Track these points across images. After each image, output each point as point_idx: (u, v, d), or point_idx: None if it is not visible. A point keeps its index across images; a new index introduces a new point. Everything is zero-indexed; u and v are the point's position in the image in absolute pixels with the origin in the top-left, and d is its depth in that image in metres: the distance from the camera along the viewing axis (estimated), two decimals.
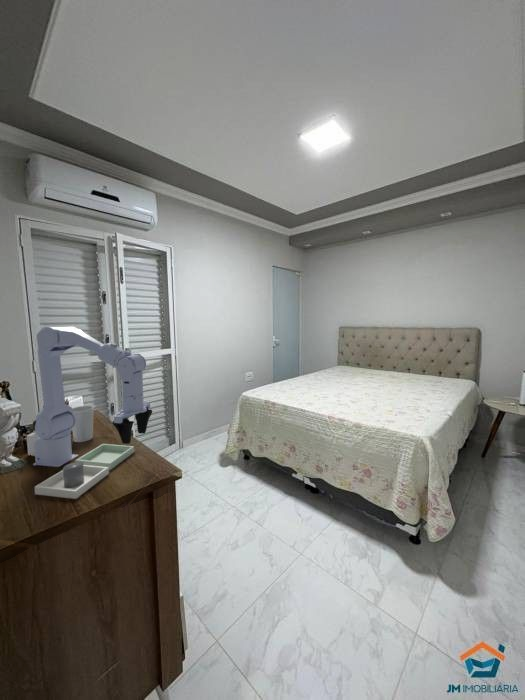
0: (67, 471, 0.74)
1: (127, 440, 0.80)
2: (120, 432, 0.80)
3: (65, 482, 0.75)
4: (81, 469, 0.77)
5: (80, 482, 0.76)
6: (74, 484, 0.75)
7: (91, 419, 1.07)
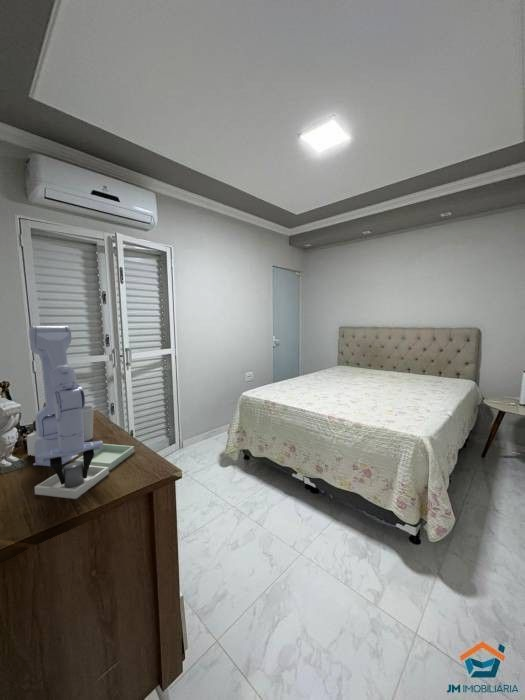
0: (67, 471, 0.74)
1: (60, 481, 0.74)
2: None
3: (65, 482, 0.75)
4: (81, 469, 0.77)
5: (80, 482, 0.76)
6: (74, 484, 0.75)
7: (91, 419, 1.07)
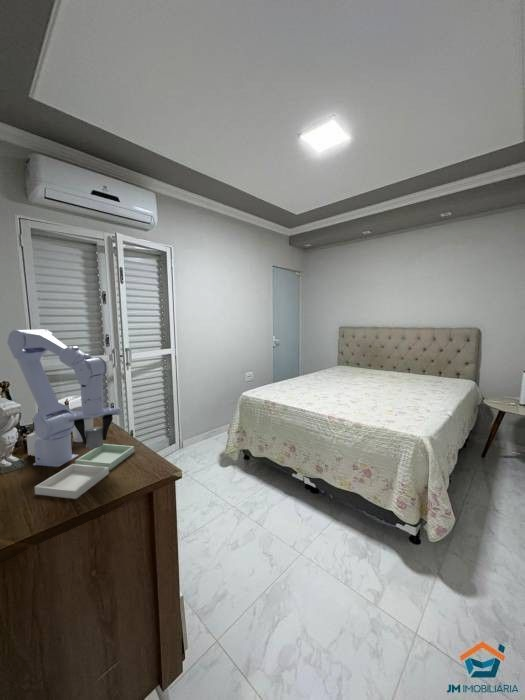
0: (88, 433, 0.82)
1: None
2: None
3: (87, 443, 0.83)
4: (101, 433, 0.84)
5: (99, 444, 0.84)
6: (94, 445, 0.83)
7: (91, 419, 1.07)
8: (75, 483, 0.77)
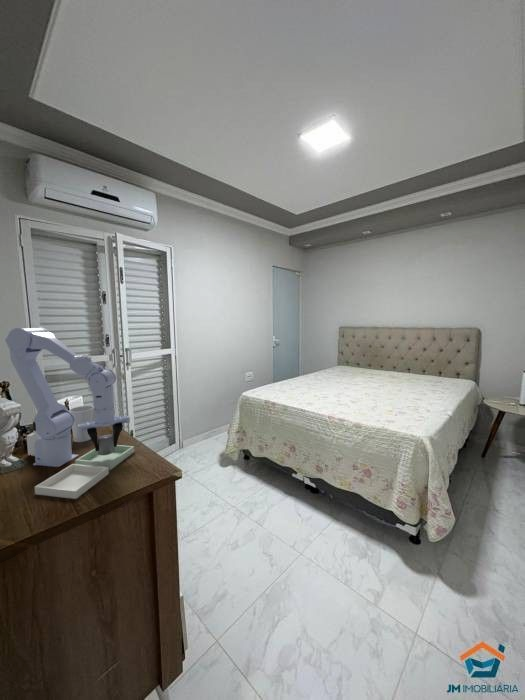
0: (100, 441, 0.88)
1: (95, 448, 0.88)
2: None
3: (99, 450, 0.88)
4: (112, 440, 0.90)
5: (111, 451, 0.89)
6: (106, 452, 0.88)
7: (91, 419, 1.07)
8: (75, 483, 0.77)
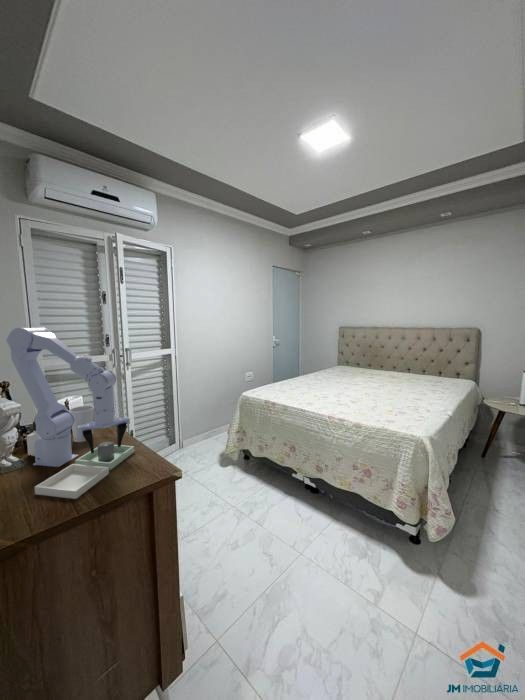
0: (100, 448, 0.88)
1: None
2: None
3: (99, 457, 0.89)
4: (112, 448, 0.90)
5: (111, 459, 0.90)
6: (106, 460, 0.88)
7: (91, 419, 1.07)
8: (75, 483, 0.77)
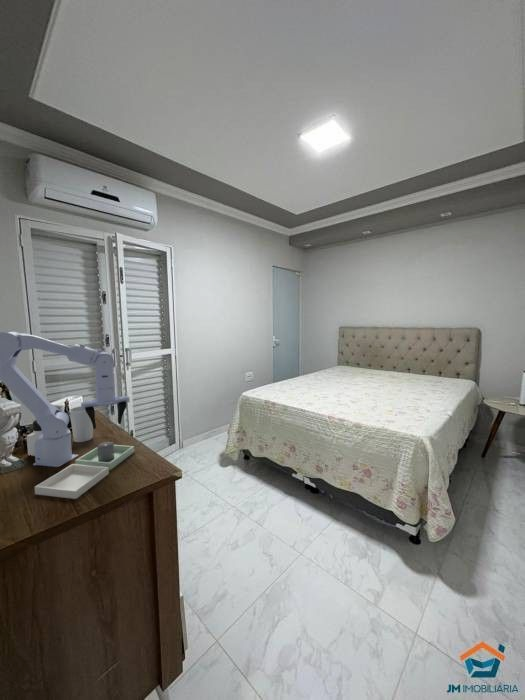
0: (100, 448, 0.88)
1: None
2: None
3: (99, 457, 0.89)
4: (111, 447, 0.90)
5: (111, 458, 0.90)
6: (106, 460, 0.88)
7: None
8: (75, 483, 0.77)
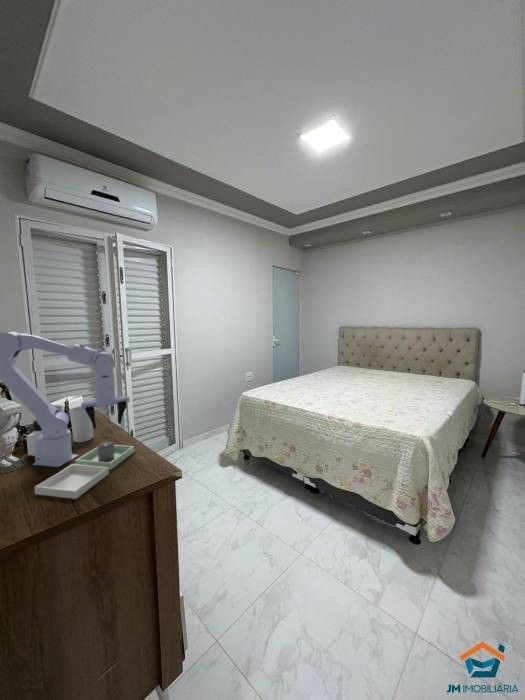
0: (100, 448, 0.88)
1: None
2: None
3: (99, 457, 0.89)
4: (112, 447, 0.90)
5: (111, 458, 0.90)
6: (106, 459, 0.88)
7: None
8: (75, 483, 0.77)
